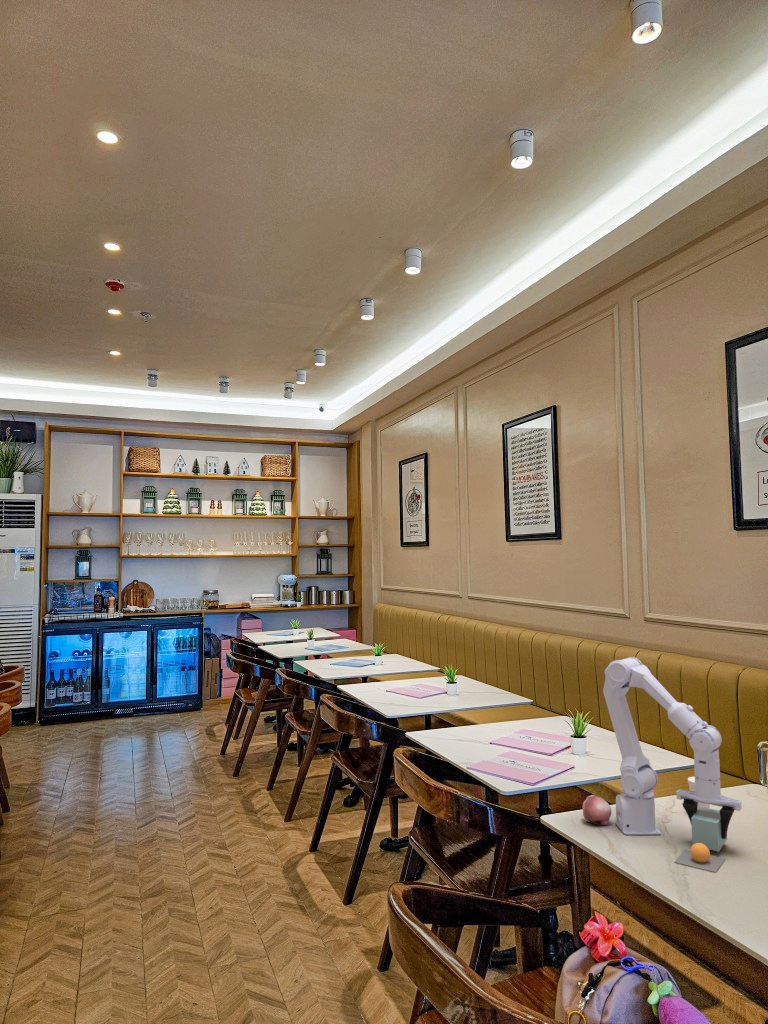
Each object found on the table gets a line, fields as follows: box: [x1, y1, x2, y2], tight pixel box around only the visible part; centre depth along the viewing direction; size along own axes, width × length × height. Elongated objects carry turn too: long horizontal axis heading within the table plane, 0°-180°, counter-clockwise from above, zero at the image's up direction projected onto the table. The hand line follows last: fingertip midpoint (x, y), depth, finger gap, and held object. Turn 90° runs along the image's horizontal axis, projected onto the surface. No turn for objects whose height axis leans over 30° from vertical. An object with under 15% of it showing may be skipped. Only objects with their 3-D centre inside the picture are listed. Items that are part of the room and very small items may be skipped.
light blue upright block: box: [690, 807, 728, 852], centre depth 171 cm, size 9×6×7 cm
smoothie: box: [687, 776, 711, 810], centre depth 193 cm, size 6×6×14 cm
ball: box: [689, 843, 711, 863], centre depth 163 cm, size 4×4×4 cm
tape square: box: [674, 849, 726, 873], centre depth 163 cm, size 9×9×1 cm
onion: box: [582, 794, 612, 826], centre depth 189 cm, size 8×8×7 cm
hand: (709, 834), depth 171 cm, fingers closed on light blue upright block, 6 cm apart
